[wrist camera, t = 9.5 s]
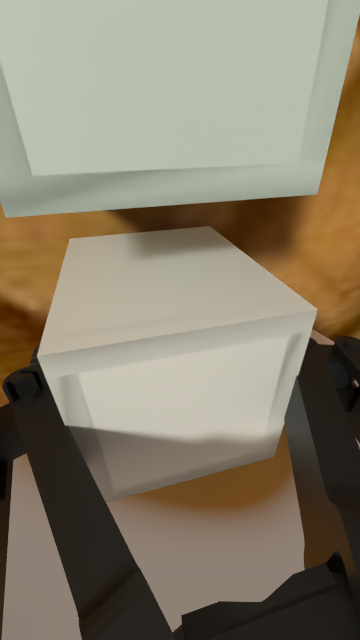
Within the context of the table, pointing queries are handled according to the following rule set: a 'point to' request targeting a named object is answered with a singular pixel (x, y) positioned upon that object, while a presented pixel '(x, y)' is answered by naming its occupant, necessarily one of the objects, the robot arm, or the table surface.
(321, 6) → the sage cover
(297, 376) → the robot arm
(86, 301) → the white cover
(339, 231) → the table surface
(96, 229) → the table surface
